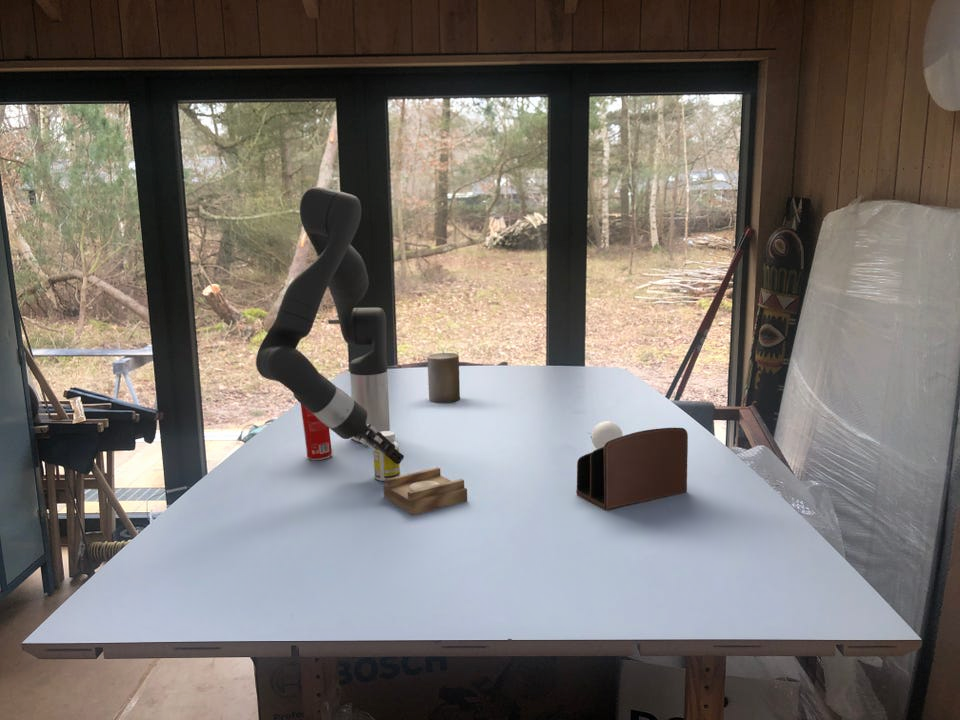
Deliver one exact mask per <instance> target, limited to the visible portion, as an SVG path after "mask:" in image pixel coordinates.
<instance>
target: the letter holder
mask: <svg viewBox="0 0 960 720" xmlns="http://www.w3.org/2000/svg"><path fill="white" fill-rule="evenodd" d="M688 435H689V433H688V431H687V430H686V429H685V428H684V427H663V428H662V427H661V428H653V429H652V428H651V429H646V430H640V431H635V432H632V433H629V434H625V435H623V436H622V437H619V438H616V439H613V440H610V441H608V442H607V443H606V444H605V445H604V447H602V448H599V449H594V450H593V451H591V452H589V453H586V454H584V455H581V456H580V457H579V458H578V460H577V463H576V491H575V493H576V496H579V497H580V498H582V499H584V500H586V501H588V502H589V503H591V504H593V505H595V506H597V507H599V508H600V509H602V510H604V511H610V510H614V509H619V508H622V507H626V506H632V505H635V504H640V503H644V502H649V501H653V500H658V499H663V498H667V497H671V496H676V495H680V494H684V493H687V491H688V456H689V455H688V453H689V450H688V449H689V446H688V444H689V443H688V442H689V441H688V439H689V438H688V437H689V436H688Z"/></svg>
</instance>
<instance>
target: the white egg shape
mask: <svg viewBox="0 0 960 720" xmlns="http://www.w3.org/2000/svg"><path fill="white" fill-rule="evenodd" d="M591 431H592V432H588V434H591V435H590V439H591V443H592V445H593V446H594V448H595V450H597V449H599V448H602V447H604V445H605V444H606V443H607V442H608V441H610V440H613V439H616V438H619V437H622V436H624V434H623V431H622V428H621V427H620V426H619V425H617V424H616V423H614V422H612V421H608V420H607V421H602V422H601V421H600V422H599V423H597V424H596V425H595V426H594V427H593V429H592V430H591Z"/></svg>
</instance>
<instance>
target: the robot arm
mask: <svg viewBox="0 0 960 720" xmlns="http://www.w3.org/2000/svg"><path fill="white" fill-rule="evenodd" d="M299 203H300V204H299V216H300V220H301V225H302V227H303V229H304V231H305V234H306V235H307V237H308V239H309V241H310V243H311V245H312V246H313V249H314V251H315V253H316V256H317V258H315V260H314V261H313V262H311V263H310V264H309V265H308V266H307V267H306V268H305V269H304V270H302V271H301V272H300V273H298V275H297V276H296V277H294V279H293V280H292V281H291V282H290V284H289V285H288V287H287V288H286V290H285V293H284V295H283V297H282V300H281V303H280V306H279V308H278V311H277V315H276V318H275V320H274V322H273V323H272V325H271V327H270V328H269V330H268V331H267V333H266V335H265V337H264V338H263V340H262V342H261V344H260V346H259V348H258V350H257V355H256V358H255V366H256V369H257V371H258V373H259V375H260V376H262V377H263V378H265V380H268V381H269V380H270V381H275V382H278V383H280V384H282V385H283V386H285V387H286V388H287V389H288V390H289V391H290V392H292V393H293V397H294V398H295V400H296V401H298V403H300V405H301V404H302V405H303V406H304V407H306V408H307V409H308V410H309V411H311V412H312V413H313V414H314V415H315V416H316V417H317V418H318V419H319V420H320V421H321V422H322V423H324V424H325V425H326V426H327V427H329V430H331V431H332V432H333V433H335V434H336V435H337V436H338V437H340V438H341V439H344V440H348V439H350V440H354V441H355V442H357V443H361V444H363V445H364V446H368V448H370V449H372V450H373V449H374V450H379V451H380V452H382V453H383V455H386V456H387V457H389V458H390V459H391V460H392V461H394V462H395V463H396V464H399V465H400V464H401V462H402V461H403V459H404V458H405V456H404V455H403V454H402V453H401V452H400V451H399V452H398V451H397V450H396V449H395V445H394V444H392V443H391V442H390V441H389V440H388V439H386V437H385V436H383V435H382V433H380V432H382V431H391V428H390V427H391V424H390V421H391V420H390V405H389V403H390V402H389V399H390V398H389V383H388V382H389V381H388V363H387V362H388V359H387V316H386V313H385V310H384V309H383V308H381V307H356V306H357V305H358V304H359V303H360V302H361V300H362V299H363V298H364V296H365V295H366V293H367V291H368V289H369V284H370V282H369V276H368V271H367V268H366V264H365V262H364V260H363V257H362V256H361V255H360V253H359V252H358V251H357V250H356V249H355V248H354V247H353V246H352V241H353V239H354V238H355V235H356V233H357V230H358V228H359V225H360V222H361V217H362V205H361V201H360V199H359V198H358V197H357V196H355V195H353V194H350V193H346V192H343V191H339V190H335V189H331V188H327V187H322V186H313V187H310V188H307V190H306V191H304V193H303V194H302V196H301V198H300V202H299ZM327 289H328V290H329V292H330V296H331V297H332V300H333V303H334V306H335V310H336V313H337V318H338V323H339V327H340V331H341V332H340V333H341V334H342V338H343V339H344V341H345V343H346V344H347V345H352V346H372V349H371V351H369V352H368V353H366V354H365V355H362V356H359V357H357V358H354V359H352V360H351V361H350V362H349V377H350V379H349V380H350V393H351V396H350V395H349V394H348V393H347V392H346V391H344V390H342V389H341V388H339V387H338V386H336V385H335V384H334V383H332V382H331V381H330V380H329V379H328V378H327V377H325V376H324V375H323V374H321V373H320V372H319V371H318V369H317V368H316V367H315V366H314V364H313V363H312V362H311V361H310V360H309V359H308V358H307V356H305V355H304V354H303V353H302V352H301V351H300V350H298V349H297V348H298V345H299V343H300V342H301V340H302V339H304V338H305V337H307V336H308V335H309V334H310V332H311V330H312V328H313V325H314V323H315V320H316V317H317V314H318V311H319V309H320V306H321V304H322V300H323V298H324V296H325V294H326V291H327ZM374 445H375V446H374ZM386 446H387V447H386ZM385 447H386V448H385Z"/></svg>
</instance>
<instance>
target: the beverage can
mask: <svg viewBox="0 0 960 720" xmlns="http://www.w3.org/2000/svg"><path fill="white" fill-rule="evenodd" d="M300 409H301V411H300V412H301V418H302V426H303V433H304V440H305V449H306V457H307V458H308V459H309V460H311V461H321V460H325V459H328V458H330V457H331V456H332V455H333V454H332V453H333V451H332V442H331V440H332V439H331V434H330V428H329V427H327V426H326V425H325V424H324V423H322V422H321V421H320V420H319V419H318V418H317V417H316V416H315V415H314V414H313V413H312V412H311V411H309V410H308V409H307V408H306V407H304V406H303V405H302V404H301V403H300Z"/></svg>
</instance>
